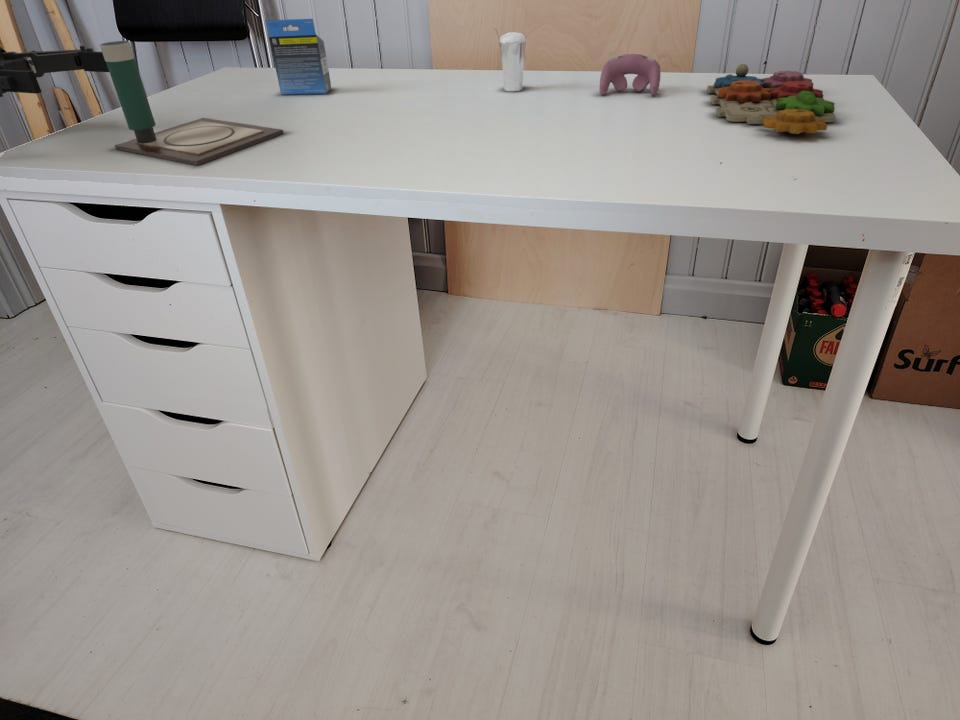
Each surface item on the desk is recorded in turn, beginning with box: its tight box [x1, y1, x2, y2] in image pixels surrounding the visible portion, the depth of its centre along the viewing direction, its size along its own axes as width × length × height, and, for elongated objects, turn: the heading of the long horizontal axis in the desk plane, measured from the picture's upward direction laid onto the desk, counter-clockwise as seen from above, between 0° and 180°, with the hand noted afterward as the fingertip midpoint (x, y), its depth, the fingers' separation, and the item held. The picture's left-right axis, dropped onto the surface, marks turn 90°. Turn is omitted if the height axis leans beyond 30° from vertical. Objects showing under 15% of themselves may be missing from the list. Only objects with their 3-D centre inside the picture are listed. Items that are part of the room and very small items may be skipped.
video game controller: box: [599, 53, 661, 97], centre depth 108 cm, size 10×5×7 cm, turn 74°
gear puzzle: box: [706, 63, 836, 135], centre depth 95 cm, size 31×16×4 cm, turn 169°
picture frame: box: [114, 117, 284, 166], centre depth 96 cm, size 18×16×1 cm
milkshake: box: [494, 27, 527, 92], centre depth 112 cm, size 4×5×10 cm
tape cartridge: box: [264, 18, 332, 96], centre depth 116 cm, size 9×4×12 cm, turn 84°
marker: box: [99, 40, 156, 143], centre depth 91 cm, size 4×4×13 cm
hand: (77, 71), depth 92 cm, fingers open, 13 cm apart
